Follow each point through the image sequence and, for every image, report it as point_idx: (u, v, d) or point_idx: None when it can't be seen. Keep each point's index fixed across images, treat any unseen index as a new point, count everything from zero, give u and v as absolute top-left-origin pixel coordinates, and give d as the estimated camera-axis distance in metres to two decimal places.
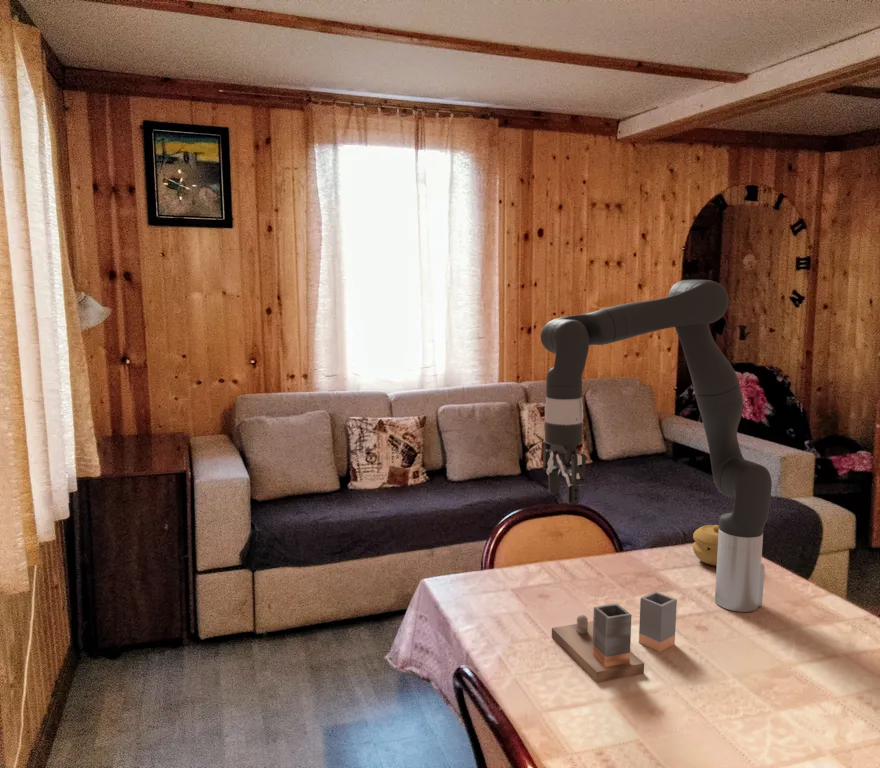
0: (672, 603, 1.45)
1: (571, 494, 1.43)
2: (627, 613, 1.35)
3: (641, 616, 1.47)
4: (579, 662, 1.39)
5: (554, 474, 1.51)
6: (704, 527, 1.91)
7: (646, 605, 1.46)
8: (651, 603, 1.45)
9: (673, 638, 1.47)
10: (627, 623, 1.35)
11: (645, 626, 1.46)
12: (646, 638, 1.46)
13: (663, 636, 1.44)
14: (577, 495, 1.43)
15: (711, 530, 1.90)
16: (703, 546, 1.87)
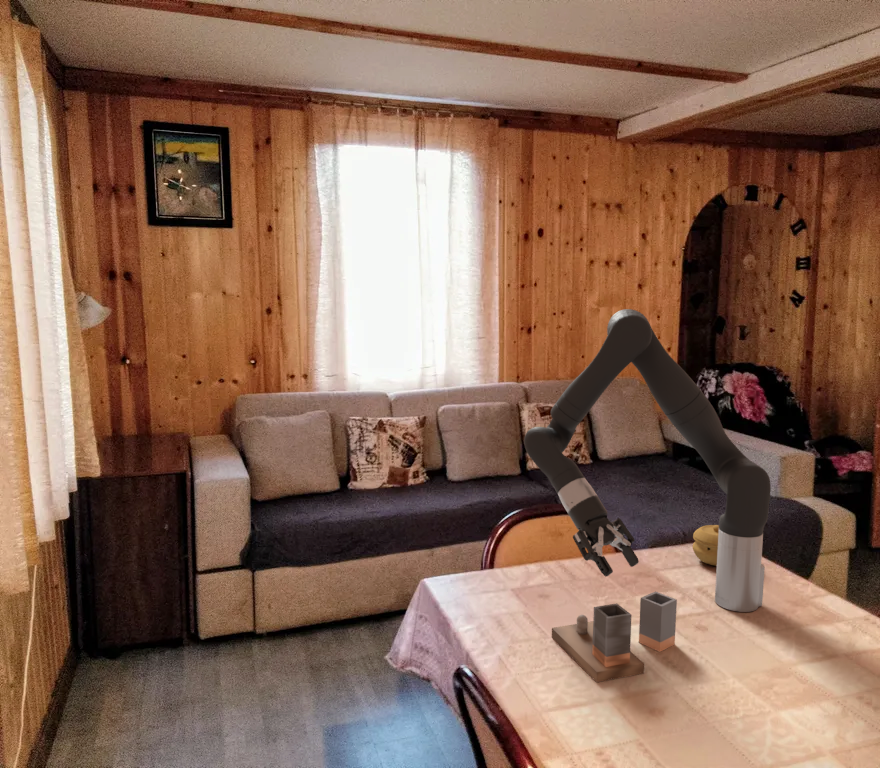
0: (672, 603, 1.45)
1: None
2: (627, 613, 1.35)
3: (641, 616, 1.47)
4: (579, 662, 1.39)
5: (624, 548, 1.57)
6: (704, 527, 1.91)
7: (646, 605, 1.46)
8: (651, 603, 1.45)
9: (673, 638, 1.47)
10: (627, 623, 1.35)
11: (645, 626, 1.46)
12: (646, 638, 1.46)
13: (663, 636, 1.44)
14: (602, 566, 1.50)
15: (711, 530, 1.90)
16: (703, 546, 1.87)
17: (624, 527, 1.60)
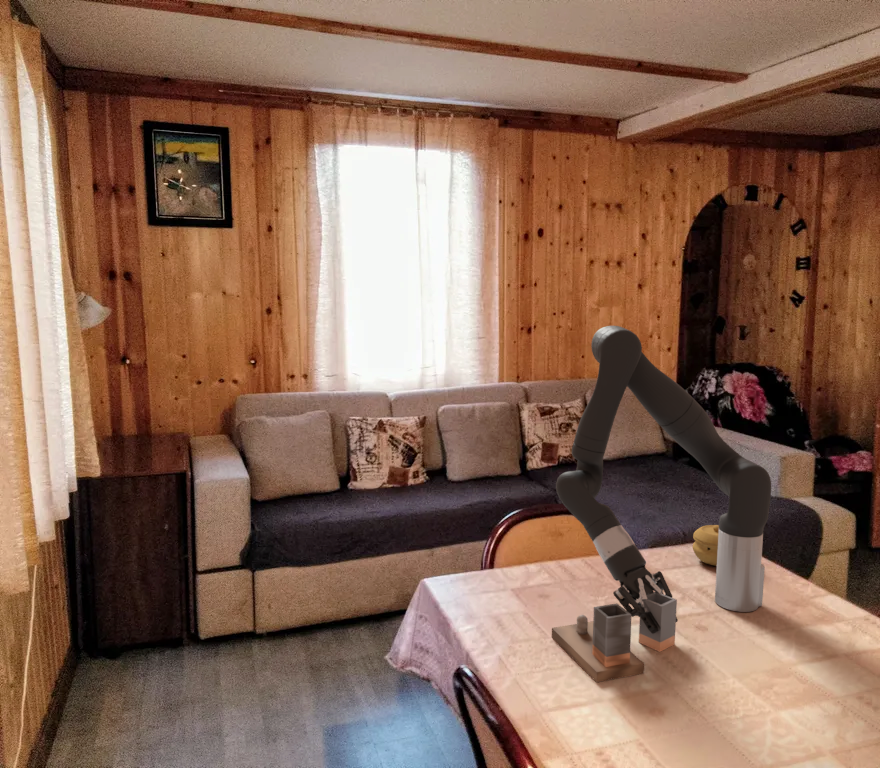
0: (672, 603, 1.45)
1: None
2: (627, 613, 1.35)
3: None
4: (579, 662, 1.39)
5: None
6: (704, 527, 1.91)
7: None
8: (651, 603, 1.45)
9: (673, 638, 1.47)
10: (627, 623, 1.35)
11: (645, 626, 1.46)
12: (646, 638, 1.46)
13: (663, 636, 1.44)
14: (649, 623, 1.44)
15: (711, 530, 1.90)
16: (703, 546, 1.87)
17: (664, 581, 1.52)
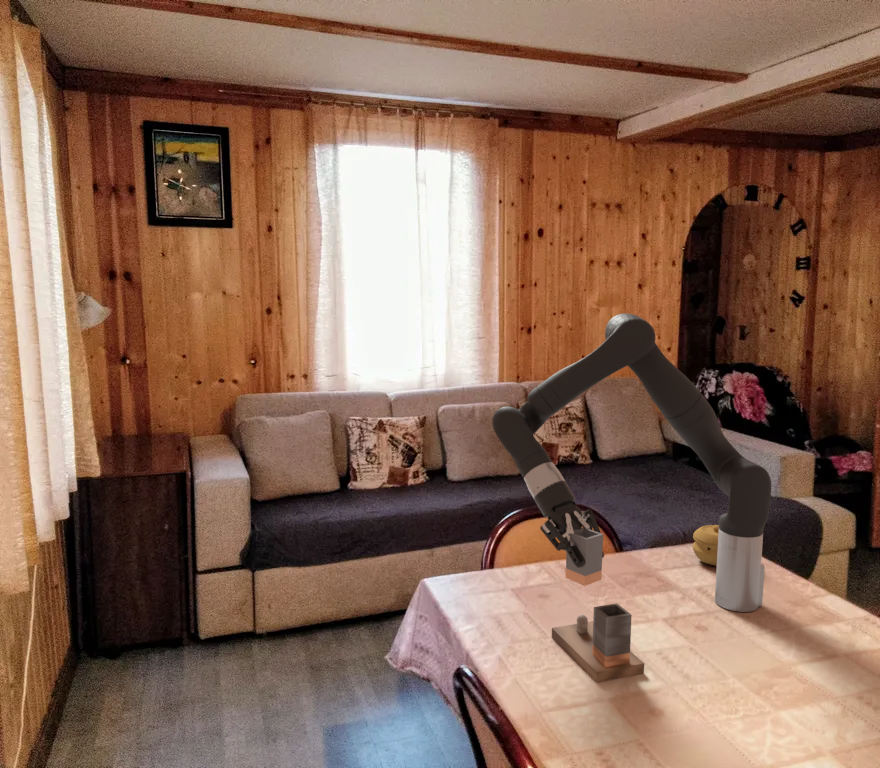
0: (598, 537, 1.44)
1: None
2: (627, 613, 1.35)
3: None
4: (579, 662, 1.39)
5: None
6: (704, 527, 1.91)
7: None
8: (577, 537, 1.44)
9: (599, 573, 1.46)
10: (627, 623, 1.35)
11: (571, 561, 1.45)
12: (572, 573, 1.45)
13: (589, 570, 1.43)
14: (574, 556, 1.43)
15: (711, 530, 1.90)
16: (703, 546, 1.87)
17: (593, 518, 1.51)
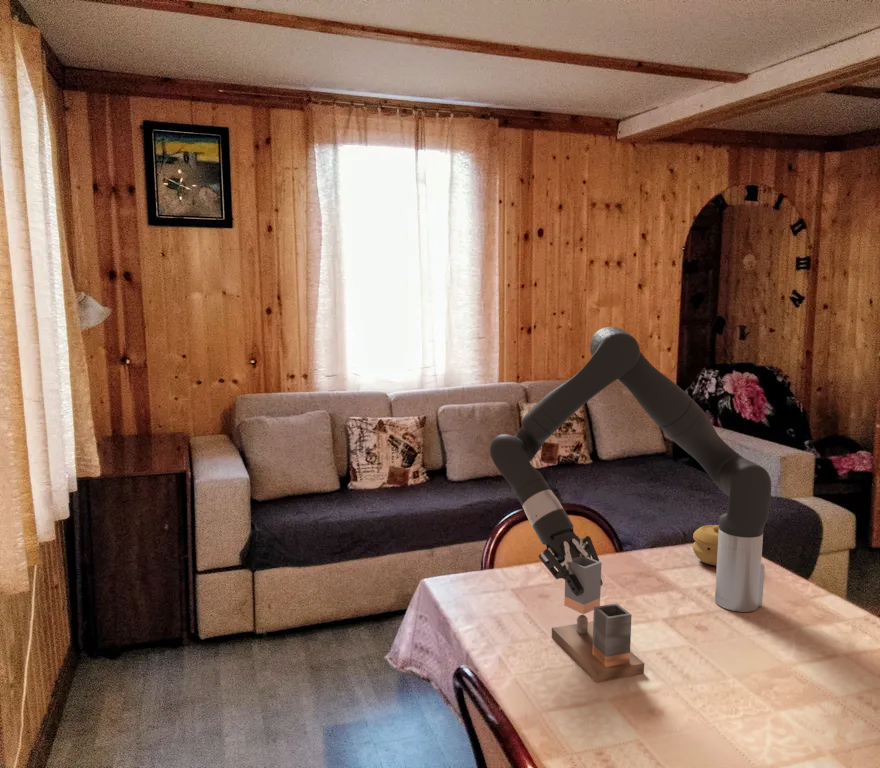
0: (596, 566, 1.45)
1: None
2: (627, 613, 1.35)
3: None
4: (579, 662, 1.39)
5: None
6: (704, 527, 1.91)
7: None
8: (575, 565, 1.45)
9: (598, 601, 1.47)
10: (627, 623, 1.35)
11: (570, 589, 1.46)
12: (571, 601, 1.46)
13: (587, 598, 1.44)
14: (573, 585, 1.44)
15: (711, 530, 1.90)
16: (703, 546, 1.87)
17: (591, 545, 1.52)
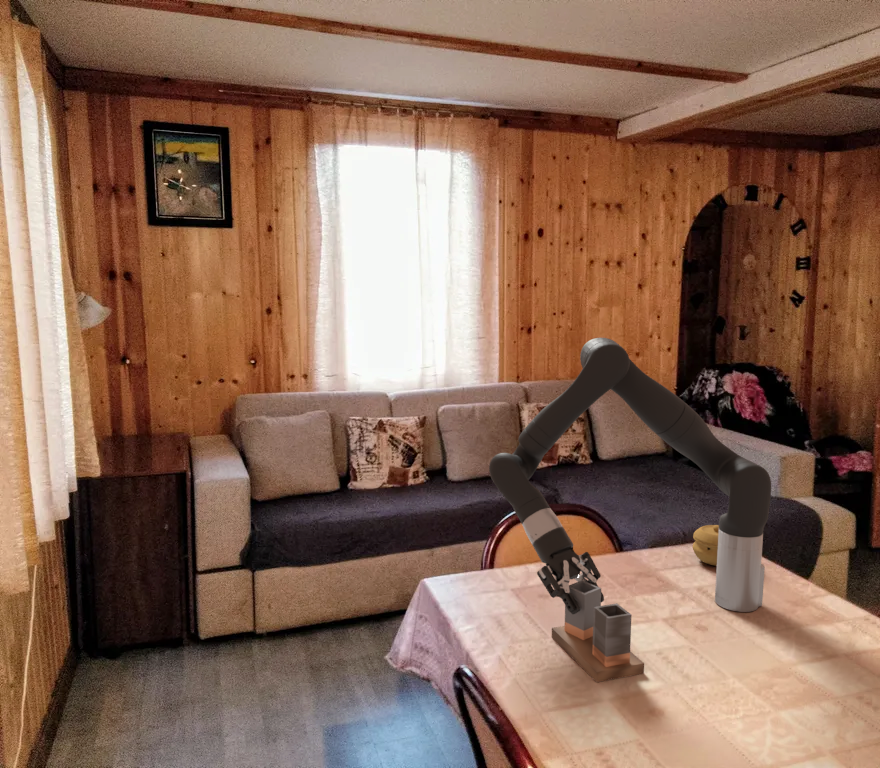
0: (596, 592, 1.46)
1: None
2: (627, 613, 1.35)
3: None
4: (579, 662, 1.39)
5: None
6: (704, 527, 1.91)
7: None
8: (575, 592, 1.45)
9: None
10: (627, 623, 1.35)
11: (570, 615, 1.47)
12: (571, 627, 1.47)
13: (587, 624, 1.45)
14: (569, 603, 1.44)
15: (711, 530, 1.90)
16: (703, 546, 1.87)
17: (591, 561, 1.53)
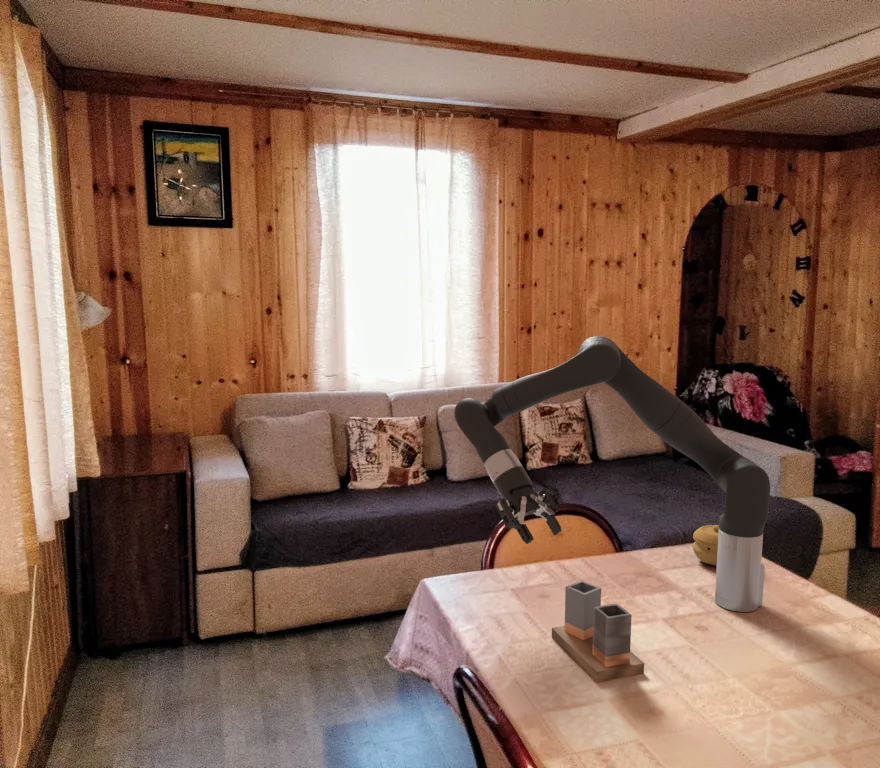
0: (596, 592, 1.46)
1: None
2: (627, 613, 1.35)
3: (566, 605, 1.48)
4: (579, 662, 1.39)
5: (548, 517, 1.60)
6: (704, 527, 1.91)
7: (571, 594, 1.46)
8: (575, 592, 1.45)
9: None
10: (627, 623, 1.35)
11: (570, 615, 1.47)
12: (571, 627, 1.47)
13: (587, 624, 1.45)
14: (523, 534, 1.53)
15: (711, 530, 1.90)
16: (703, 546, 1.87)
17: (549, 496, 1.62)
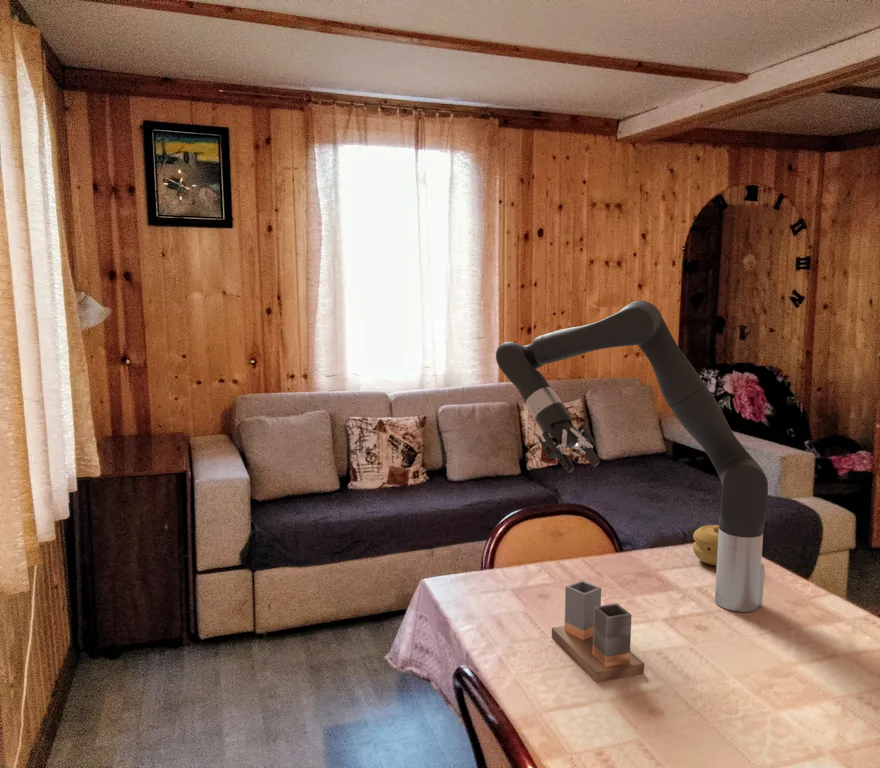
0: (596, 592, 1.46)
1: None
2: (627, 613, 1.35)
3: (566, 605, 1.48)
4: (579, 662, 1.39)
5: (587, 450, 1.70)
6: (704, 527, 1.91)
7: (571, 594, 1.46)
8: (575, 592, 1.45)
9: None
10: (627, 623, 1.35)
11: (570, 615, 1.47)
12: (571, 627, 1.47)
13: (587, 624, 1.45)
14: (564, 463, 1.63)
15: (711, 530, 1.90)
16: (703, 546, 1.87)
17: (587, 432, 1.72)
